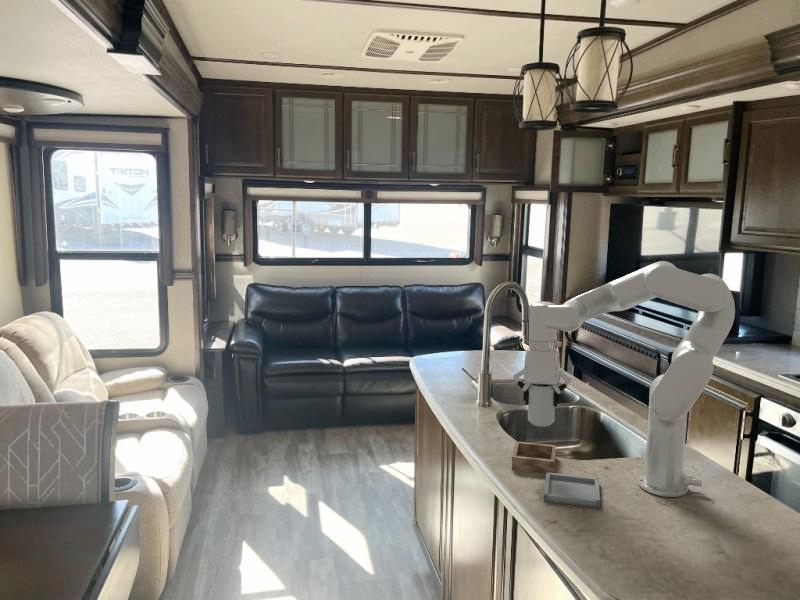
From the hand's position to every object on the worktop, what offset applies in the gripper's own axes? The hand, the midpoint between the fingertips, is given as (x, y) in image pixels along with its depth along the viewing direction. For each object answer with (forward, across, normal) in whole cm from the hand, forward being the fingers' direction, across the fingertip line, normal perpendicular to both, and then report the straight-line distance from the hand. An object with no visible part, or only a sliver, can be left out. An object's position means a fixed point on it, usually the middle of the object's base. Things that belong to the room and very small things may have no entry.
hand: (541, 404), depth 180 cm
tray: (+20, -9, +14) cm, 26 cm away
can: (+6, 0, 0) cm, 6 cm away
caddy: (+19, +2, -2) cm, 20 cm away
